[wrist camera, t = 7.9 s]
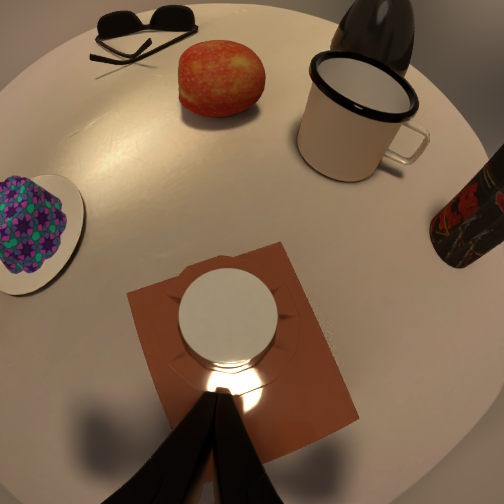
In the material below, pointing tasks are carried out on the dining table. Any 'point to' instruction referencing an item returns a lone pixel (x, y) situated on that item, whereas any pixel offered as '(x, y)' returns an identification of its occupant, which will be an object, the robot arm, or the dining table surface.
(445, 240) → the deodorant
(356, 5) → the pump dispenser
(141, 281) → the dining table surface
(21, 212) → the pudding
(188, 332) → the white cylinder
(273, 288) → the button housing
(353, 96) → the mug
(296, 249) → the dining table surface
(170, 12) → the sunglasses
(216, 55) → the apple
